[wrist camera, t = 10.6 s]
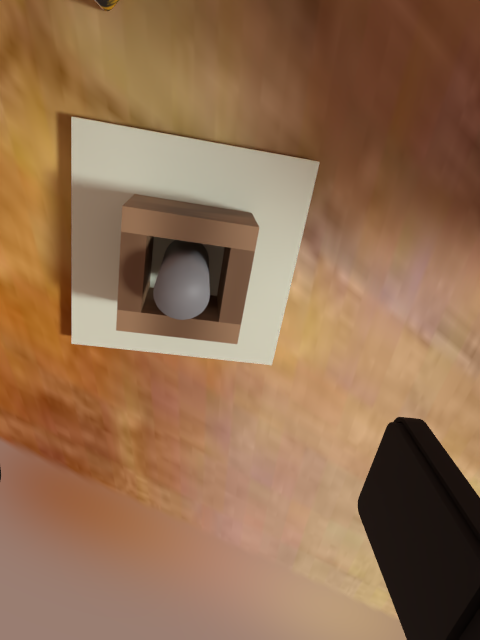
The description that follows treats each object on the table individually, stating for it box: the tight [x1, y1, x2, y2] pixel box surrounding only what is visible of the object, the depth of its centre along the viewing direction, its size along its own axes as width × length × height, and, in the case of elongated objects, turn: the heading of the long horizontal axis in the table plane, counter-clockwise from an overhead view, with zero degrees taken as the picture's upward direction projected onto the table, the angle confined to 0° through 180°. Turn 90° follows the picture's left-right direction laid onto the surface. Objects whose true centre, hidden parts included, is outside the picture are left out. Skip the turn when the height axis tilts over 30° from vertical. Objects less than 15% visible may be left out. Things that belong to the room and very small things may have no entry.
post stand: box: [71, 117, 320, 365], centre depth 24 cm, size 14×14×7 cm
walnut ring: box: [116, 194, 259, 344], centre depth 24 cm, size 7×7×4 cm
